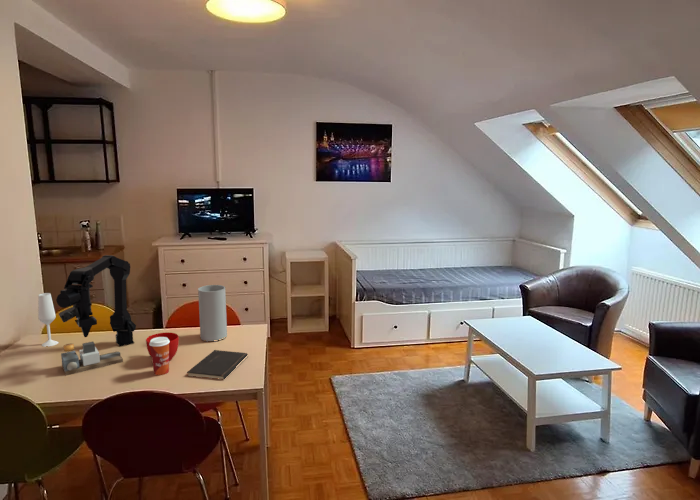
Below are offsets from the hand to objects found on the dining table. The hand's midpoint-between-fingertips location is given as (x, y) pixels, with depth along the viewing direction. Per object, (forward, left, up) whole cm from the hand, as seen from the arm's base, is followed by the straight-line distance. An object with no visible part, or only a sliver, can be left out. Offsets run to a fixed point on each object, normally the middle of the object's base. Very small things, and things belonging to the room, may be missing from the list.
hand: (85, 336), depth 188 cm
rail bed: (-2, 0, -13) cm, 13 cm away
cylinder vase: (-54, +1, -13) cm, 56 cm away
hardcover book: (-43, +33, -13) cm, 56 cm away
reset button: (+6, 0, -4) cm, 8 cm away
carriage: (-1, 0, -11) cm, 11 cm away
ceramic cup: (-26, +11, -13) cm, 31 cm away
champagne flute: (+10, -37, -13) cm, 40 cm away
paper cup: (-22, +25, -13) cm, 36 cm away
